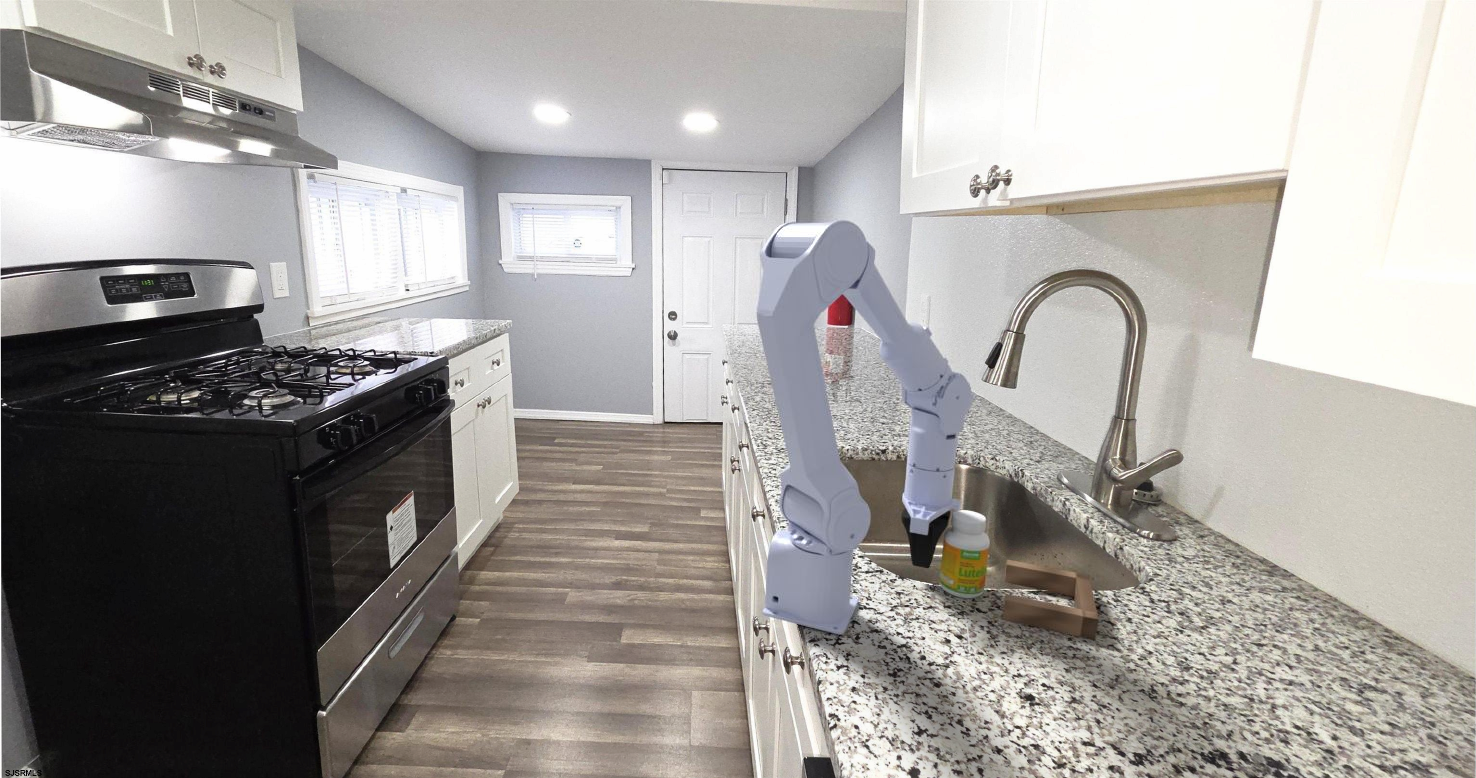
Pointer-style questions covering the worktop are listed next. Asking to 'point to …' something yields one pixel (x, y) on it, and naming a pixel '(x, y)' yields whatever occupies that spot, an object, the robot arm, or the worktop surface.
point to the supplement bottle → (965, 555)
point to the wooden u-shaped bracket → (1048, 614)
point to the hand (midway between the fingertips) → (921, 564)
